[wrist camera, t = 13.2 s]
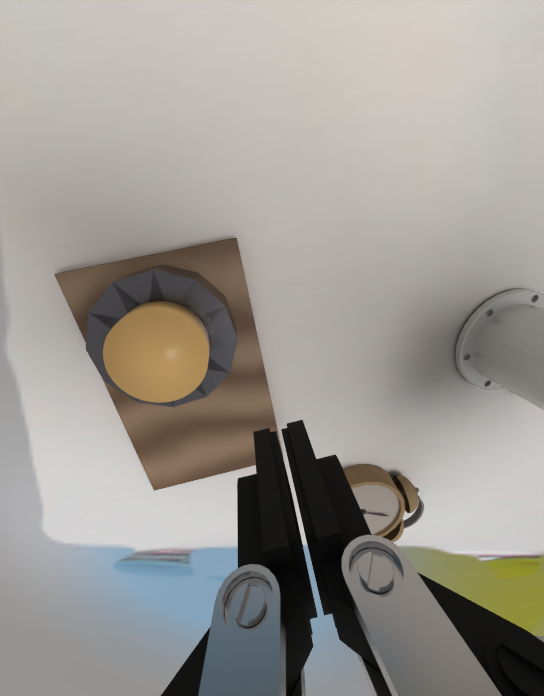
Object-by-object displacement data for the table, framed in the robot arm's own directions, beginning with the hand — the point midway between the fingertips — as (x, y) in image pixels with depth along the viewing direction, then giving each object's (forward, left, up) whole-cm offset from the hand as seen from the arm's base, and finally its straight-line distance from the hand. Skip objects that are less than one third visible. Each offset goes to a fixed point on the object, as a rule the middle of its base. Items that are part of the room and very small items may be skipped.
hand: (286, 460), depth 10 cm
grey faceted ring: (+4, +7, -21) cm, 22 cm away
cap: (+4, +7, -21) cm, 22 cm away
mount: (-1, +10, -22) cm, 24 cm away
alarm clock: (-32, +9, -23) cm, 40 cm away
